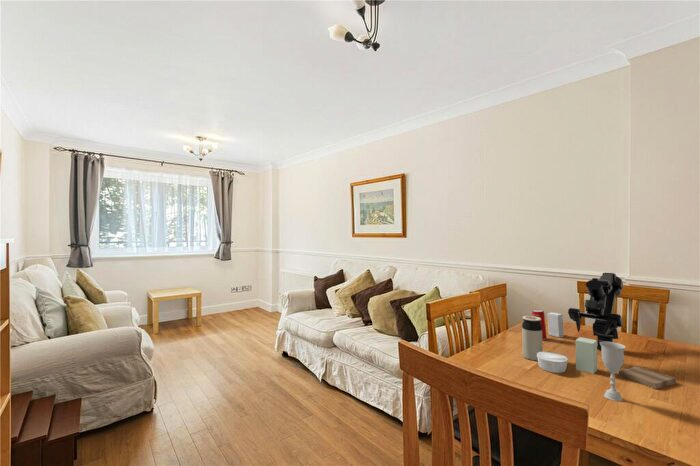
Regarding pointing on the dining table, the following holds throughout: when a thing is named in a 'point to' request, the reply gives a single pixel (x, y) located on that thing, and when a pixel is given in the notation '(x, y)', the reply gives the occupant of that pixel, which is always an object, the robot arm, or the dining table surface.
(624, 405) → the dining table surface
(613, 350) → the chalice
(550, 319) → the skincare box
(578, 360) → the sage block
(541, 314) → the beverage can
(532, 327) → the travel mug
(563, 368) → the ramekin
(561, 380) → the dining table surface
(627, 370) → the walnut board
